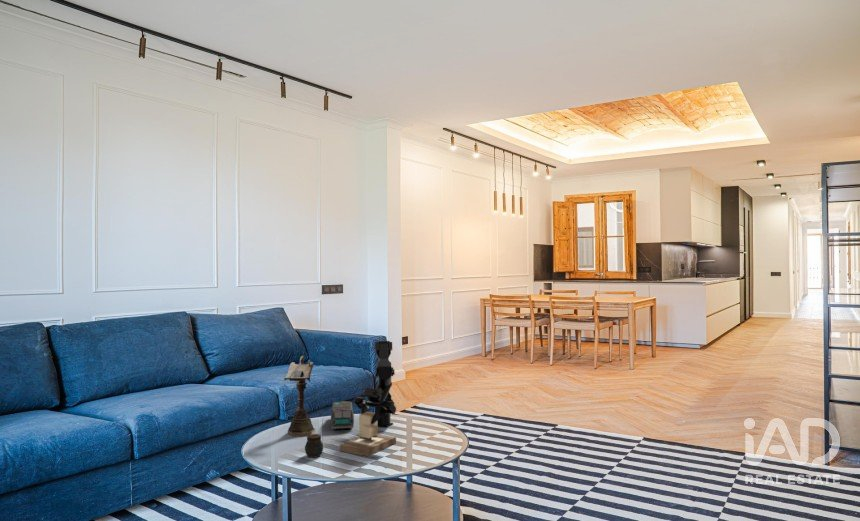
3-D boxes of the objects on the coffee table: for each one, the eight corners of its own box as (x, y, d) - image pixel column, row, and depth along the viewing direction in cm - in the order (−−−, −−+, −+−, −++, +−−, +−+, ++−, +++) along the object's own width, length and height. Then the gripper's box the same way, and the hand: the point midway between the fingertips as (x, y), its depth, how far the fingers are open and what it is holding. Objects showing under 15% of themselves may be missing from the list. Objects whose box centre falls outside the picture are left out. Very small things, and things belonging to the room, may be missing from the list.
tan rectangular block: (367, 435, 248) (367, 411, 248) (377, 437, 245) (377, 412, 245) (359, 438, 242) (359, 414, 243) (369, 440, 240) (368, 416, 240)
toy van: (353, 417, 293) (352, 397, 293) (354, 431, 268) (354, 409, 268) (331, 418, 291) (331, 398, 291) (330, 432, 266) (330, 410, 267)
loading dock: (369, 438, 256) (369, 432, 256) (396, 443, 249) (396, 436, 249) (339, 450, 239) (339, 444, 239) (367, 456, 231) (367, 449, 232)
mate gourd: (321, 458, 229) (321, 433, 229) (302, 458, 229) (302, 433, 229) (324, 452, 236) (324, 428, 236) (306, 452, 236) (306, 428, 236)
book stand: (310, 440, 254) (309, 358, 254) (280, 439, 255) (280, 358, 255) (321, 429, 270) (320, 353, 271) (293, 429, 271) (293, 353, 272)
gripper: (356, 377, 252) (339, 409, 243) (392, 382, 243) (376, 414, 233) (367, 392, 259) (351, 423, 249) (402, 397, 249) (388, 429, 240)
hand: (366, 422), depth 243 cm, fingers closed on tan rectangular block, 5 cm apart
